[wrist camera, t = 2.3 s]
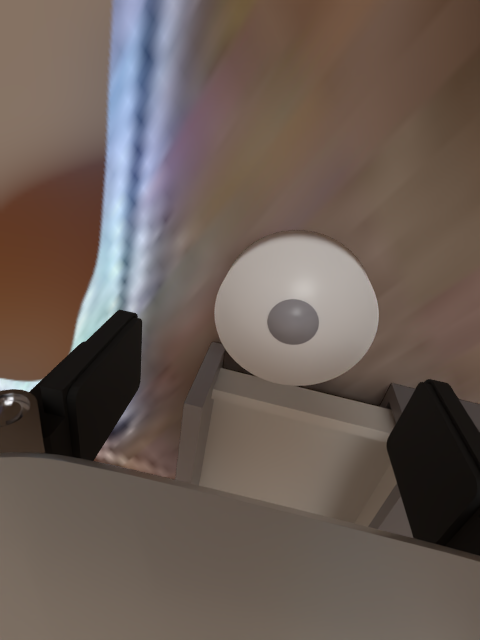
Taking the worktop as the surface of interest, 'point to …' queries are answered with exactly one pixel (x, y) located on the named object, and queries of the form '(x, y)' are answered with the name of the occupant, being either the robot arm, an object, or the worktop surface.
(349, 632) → the robot arm
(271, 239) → the disc
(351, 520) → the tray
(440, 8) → the worktop surface
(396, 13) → the worktop surface
